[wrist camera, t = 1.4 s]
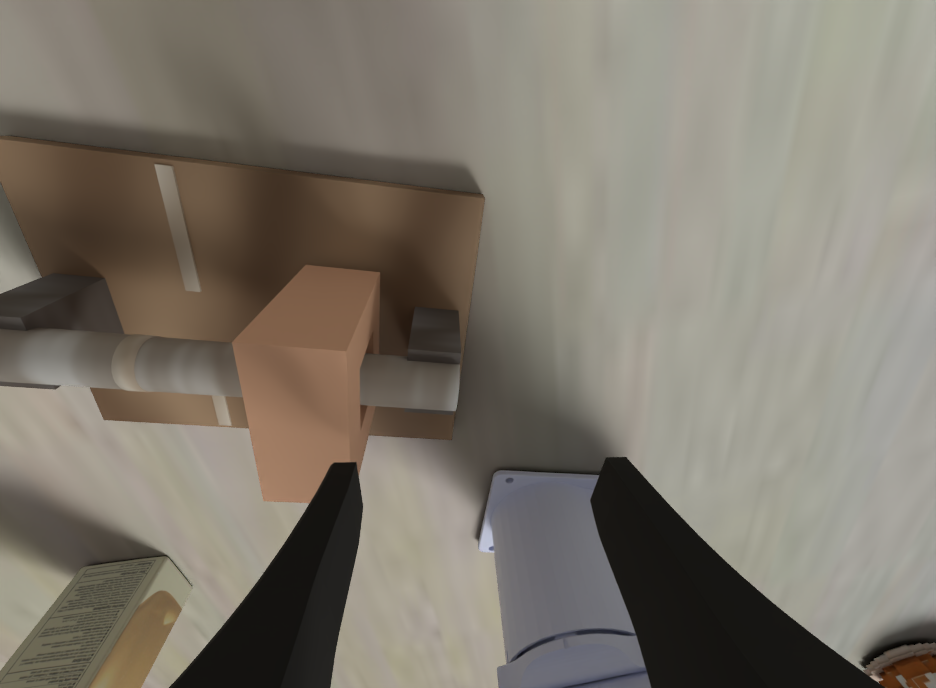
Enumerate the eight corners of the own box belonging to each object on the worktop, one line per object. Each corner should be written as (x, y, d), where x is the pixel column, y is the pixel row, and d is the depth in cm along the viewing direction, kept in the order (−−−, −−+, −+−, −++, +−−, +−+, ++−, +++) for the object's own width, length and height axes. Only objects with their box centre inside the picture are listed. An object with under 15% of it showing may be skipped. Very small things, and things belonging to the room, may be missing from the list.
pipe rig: (482, 194, 17) (499, 227, 11) (451, 427, 23) (452, 515, 18) (8, 136, 15) (-222, 145, 10) (117, 407, 21) (14, 498, 16)
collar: (380, 272, 16) (346, 351, 11) (378, 394, 20) (351, 504, 14) (305, 264, 16) (232, 342, 11) (316, 390, 19) (263, 501, 14)
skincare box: (116, 596, 30) (-67, 860, 19) (81, 563, 28) (-145, 840, 17) (199, 587, 30) (63, 847, 19) (171, 553, 28) (0, 826, 17)
